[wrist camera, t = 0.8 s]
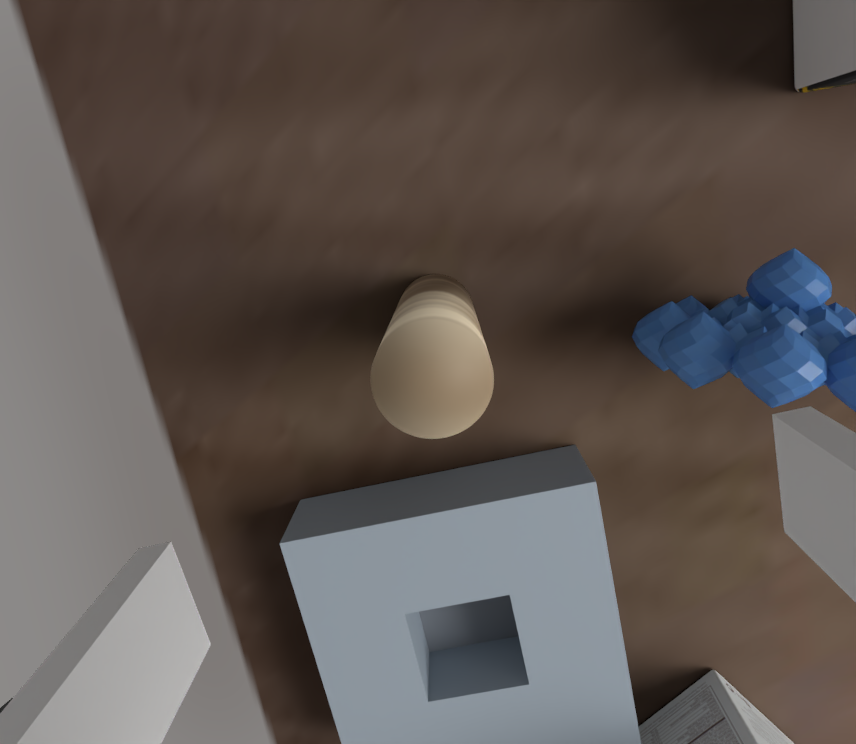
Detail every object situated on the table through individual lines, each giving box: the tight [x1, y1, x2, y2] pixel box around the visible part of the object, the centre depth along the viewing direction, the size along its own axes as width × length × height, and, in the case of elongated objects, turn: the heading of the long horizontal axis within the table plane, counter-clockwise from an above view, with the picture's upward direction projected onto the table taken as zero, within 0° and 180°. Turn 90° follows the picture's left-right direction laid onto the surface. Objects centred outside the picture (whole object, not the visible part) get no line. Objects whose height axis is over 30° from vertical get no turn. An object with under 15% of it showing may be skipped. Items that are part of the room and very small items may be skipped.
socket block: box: [279, 445, 641, 744], centre depth 36 cm, size 16×16×5 cm
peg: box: [370, 274, 494, 439], centre depth 28 cm, size 4×4×14 cm
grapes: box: [632, 248, 856, 412], centre depth 28 cm, size 12×7×12 cm, turn 89°
